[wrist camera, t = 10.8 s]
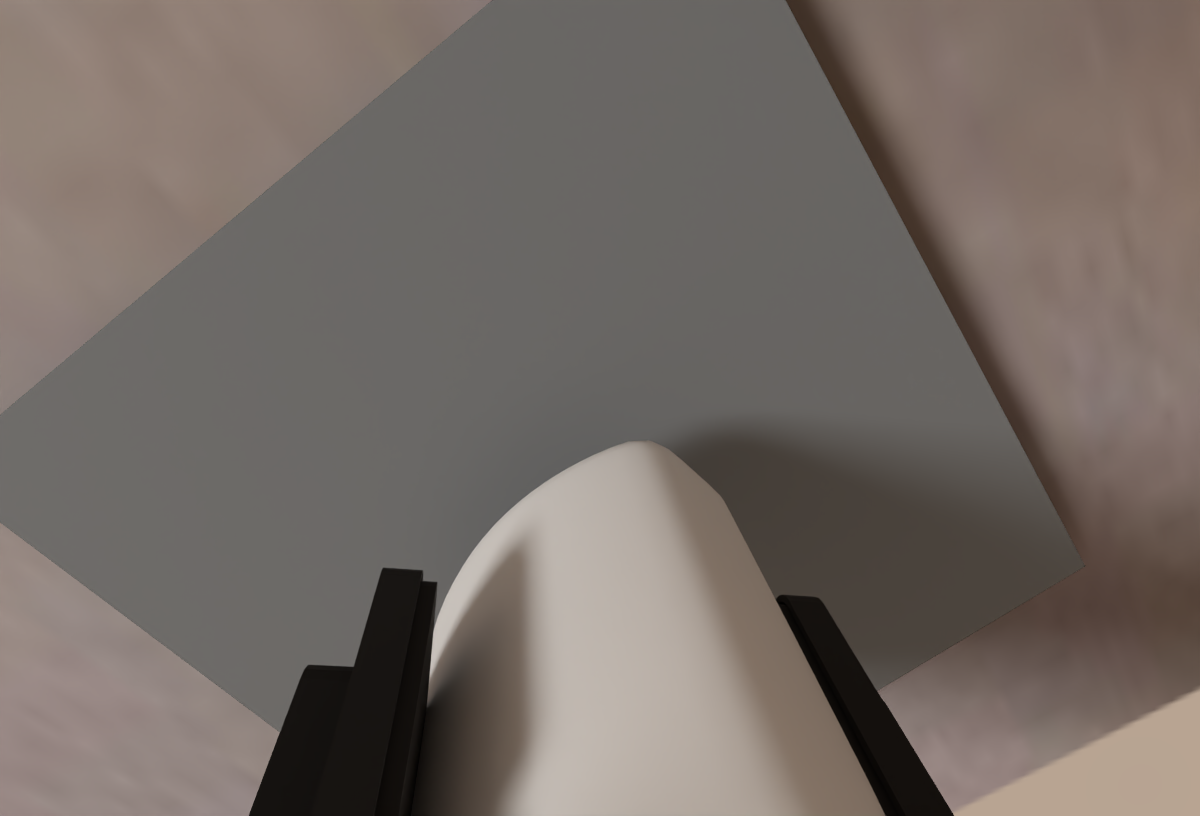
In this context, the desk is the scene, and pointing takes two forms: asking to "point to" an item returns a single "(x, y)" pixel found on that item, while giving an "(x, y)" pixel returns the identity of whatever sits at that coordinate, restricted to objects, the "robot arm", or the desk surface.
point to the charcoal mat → (539, 355)
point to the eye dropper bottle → (625, 664)
